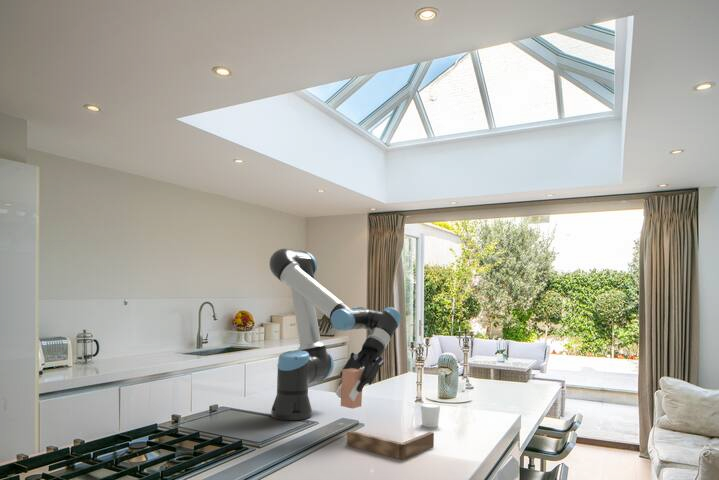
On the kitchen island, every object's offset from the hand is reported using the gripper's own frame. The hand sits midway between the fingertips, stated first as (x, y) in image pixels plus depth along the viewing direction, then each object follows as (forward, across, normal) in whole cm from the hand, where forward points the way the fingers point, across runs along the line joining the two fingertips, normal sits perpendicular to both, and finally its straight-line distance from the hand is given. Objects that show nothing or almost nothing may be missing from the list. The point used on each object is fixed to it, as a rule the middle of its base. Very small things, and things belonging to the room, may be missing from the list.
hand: (344, 396), depth 170 cm
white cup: (-13, -16, -30) cm, 36 cm away
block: (0, 0, -5) cm, 5 cm away
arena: (+8, -19, -8) cm, 22 cm away
